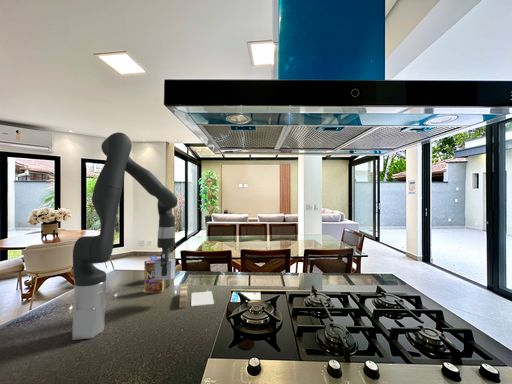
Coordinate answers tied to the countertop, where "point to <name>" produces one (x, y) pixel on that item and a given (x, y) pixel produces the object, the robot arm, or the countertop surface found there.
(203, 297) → the mat
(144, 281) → the ink cartridge box
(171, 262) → the medicine box
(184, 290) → the ledge
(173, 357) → the countertop surface
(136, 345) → the countertop surface
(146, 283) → the candy box
